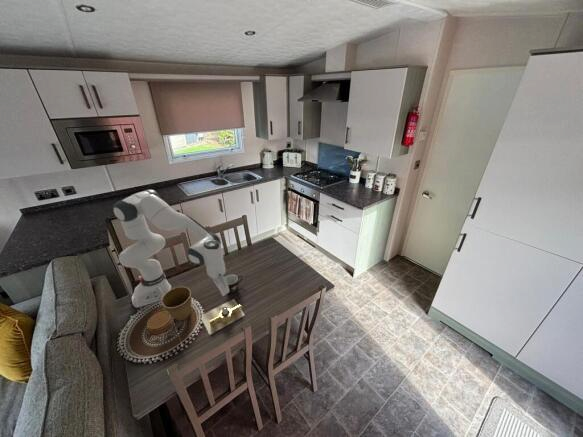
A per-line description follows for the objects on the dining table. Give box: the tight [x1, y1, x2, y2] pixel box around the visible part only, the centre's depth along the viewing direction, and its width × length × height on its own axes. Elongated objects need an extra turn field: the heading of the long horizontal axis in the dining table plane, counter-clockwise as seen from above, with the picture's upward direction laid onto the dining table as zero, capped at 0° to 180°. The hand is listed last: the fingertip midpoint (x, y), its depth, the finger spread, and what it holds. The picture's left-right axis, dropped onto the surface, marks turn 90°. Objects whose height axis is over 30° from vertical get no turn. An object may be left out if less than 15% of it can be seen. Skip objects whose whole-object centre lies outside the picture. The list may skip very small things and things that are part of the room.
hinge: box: [209, 304, 243, 328], centre depth 134 cm, size 18×6×5 cm, turn 127°
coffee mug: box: [224, 274, 243, 294], centre depth 153 cm, size 12×9×10 cm
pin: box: [222, 307, 229, 316], centre depth 134 cm, size 3×3×8 cm
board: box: [200, 298, 245, 335], centre depth 138 cm, size 21×15×1 cm
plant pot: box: [161, 286, 192, 322], centre depth 134 cm, size 15×15×16 cm
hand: (220, 289), depth 126 cm, fingers open, 8 cm apart
